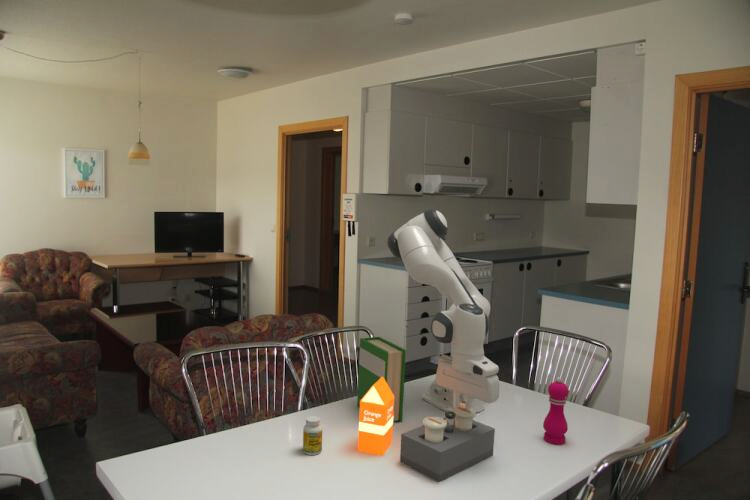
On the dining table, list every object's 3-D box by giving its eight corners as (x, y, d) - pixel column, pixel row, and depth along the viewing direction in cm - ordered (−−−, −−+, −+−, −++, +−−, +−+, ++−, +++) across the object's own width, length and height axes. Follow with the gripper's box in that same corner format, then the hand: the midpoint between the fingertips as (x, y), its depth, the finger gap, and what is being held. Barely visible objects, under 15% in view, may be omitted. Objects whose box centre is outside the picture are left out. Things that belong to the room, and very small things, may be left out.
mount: (399, 461, 156) (401, 434, 155) (454, 438, 172) (456, 413, 172) (439, 482, 146) (440, 452, 145) (493, 455, 162) (494, 428, 162)
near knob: (416, 455, 154) (418, 419, 153) (431, 449, 159) (433, 413, 158) (434, 464, 150) (436, 427, 149) (449, 457, 154) (451, 421, 153)
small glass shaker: (441, 430, 158) (442, 412, 158) (448, 428, 160) (449, 410, 160) (449, 434, 156) (450, 416, 156) (456, 431, 158) (457, 413, 158)
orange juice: (392, 443, 167) (395, 377, 165) (383, 455, 159) (386, 386, 157) (367, 438, 170) (370, 373, 168) (357, 450, 162) (360, 382, 160)
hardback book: (402, 422, 183) (405, 350, 181) (382, 425, 180) (385, 352, 177) (376, 403, 199) (379, 336, 196) (357, 406, 195) (360, 338, 193)
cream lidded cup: (446, 442, 163) (448, 408, 162) (460, 437, 168) (462, 403, 167) (464, 450, 159) (466, 415, 158) (477, 444, 163) (480, 410, 162)
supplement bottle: (317, 445, 164) (318, 413, 163) (324, 453, 159) (325, 420, 158) (299, 449, 161) (300, 416, 160) (306, 457, 156) (307, 423, 155)
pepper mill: (568, 446, 170) (573, 382, 168) (543, 443, 172) (548, 379, 170) (565, 436, 177) (570, 375, 175) (541, 434, 179) (545, 372, 177)
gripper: (432, 354, 166) (429, 400, 168) (490, 372, 152) (487, 422, 153) (446, 351, 171) (443, 395, 172) (504, 368, 156) (500, 416, 157)
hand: (464, 408), depth 162 cm, fingers closed
